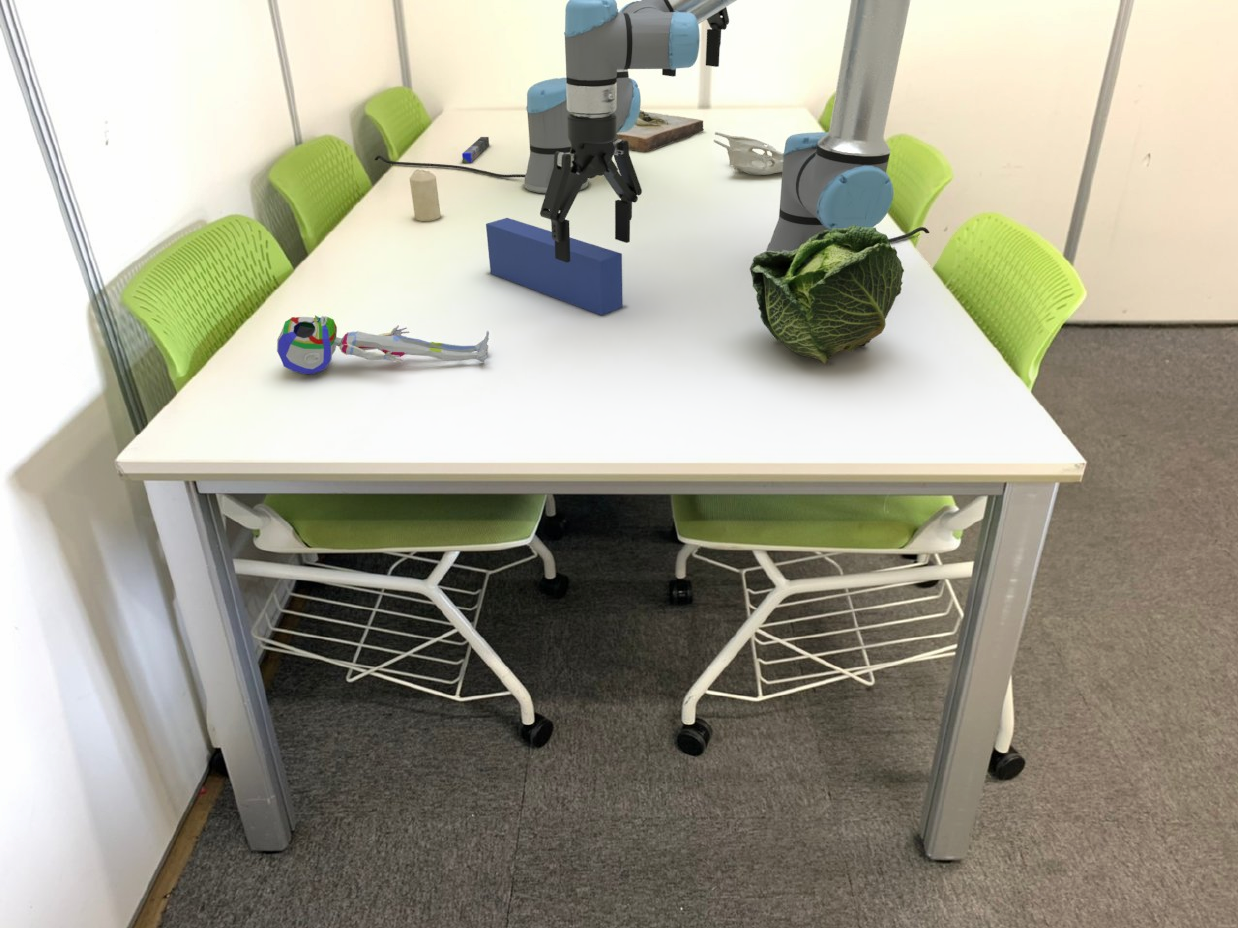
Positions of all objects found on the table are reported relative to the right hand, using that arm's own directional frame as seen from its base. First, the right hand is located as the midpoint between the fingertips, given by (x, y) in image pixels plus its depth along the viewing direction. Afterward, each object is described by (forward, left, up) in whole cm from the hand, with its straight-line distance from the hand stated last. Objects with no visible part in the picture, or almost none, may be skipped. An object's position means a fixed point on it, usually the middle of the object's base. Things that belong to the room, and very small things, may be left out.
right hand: (593, 250), depth 146 cm
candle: (+10, -63, -10) cm, 64 cm away
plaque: (-67, -109, -10) cm, 128 cm away
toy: (+37, +5, -10) cm, 39 cm away
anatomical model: (-75, -56, -10) cm, 94 cm away
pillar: (-20, -112, -10) cm, 114 cm away
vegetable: (-22, +32, -10) cm, 40 cm away
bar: (+3, -10, -10) cm, 15 cm away
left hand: (-37, -31, +20) cm, 53 cm away
